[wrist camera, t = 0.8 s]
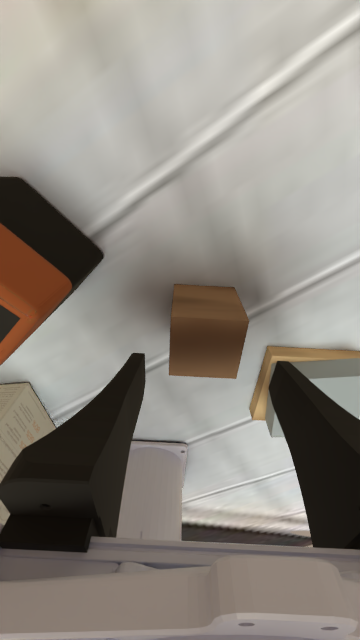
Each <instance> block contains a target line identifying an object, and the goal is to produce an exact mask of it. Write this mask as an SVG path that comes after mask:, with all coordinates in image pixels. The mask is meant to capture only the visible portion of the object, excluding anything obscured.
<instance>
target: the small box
mask: <svg viewBox="0 0 360 640" xmlns="http://www.w3.org/2000/svg"><path fill="white" fill-rule="evenodd" d="M55 429H56V428H55V426H54V424H53V423H52V421H51V419H50V418H49V416H48V414H47V413H46V411H45V409H44V408H43V406H42V404H41V403H40V401H39V399H38V398H37V396H36V394H35V393H34V391H33V389H32V388H31V386H30V384H29V383H20V384H7V385H0V483H1V481H2V479H3V478H4V476H5V475H6V473H7V471H8V470H9V468H10V466H11V465H12V463H13V462H14V460H15V459H16V457H17V456H18V455H19V454H20V452H21V451H22V449H23V448H25V447H27V446H29V445H30V444H32V443H34V442H35V441H37V440H39V439H41V438H42V437H44V436H46V435H47V434H49V433H50V432H52V431H53V430H55ZM9 516H10V513H9V511H8V510H7V509H6V507H5V506H4V504H3V503H2V501H1V500H0V523H2V524H3V525H5V523H6V521H7V519H8V517H9Z"/></svg>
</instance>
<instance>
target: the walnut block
mask: <svg viewBox="0 0 360 640" xmlns="http://www.w3.org/2000/svg"><path fill="white" fill-rule="evenodd" d="M248 324H249V319H248V317H247V315H246V313H245V310H244V308H243V306H242V304H241V301H240V299H239V297H238V295H237V292H236V290H235V288H234V287H218V286H199V285H181V284H174V293H173V302H172V311H171V328H170V357H169V375H174V376H194V377H213V378H232V379H236V377H237V373H238V368H239V364H240V359H241V355H242V350H243V346H244V342H245V337H246V333H247V328H248Z"/></svg>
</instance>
